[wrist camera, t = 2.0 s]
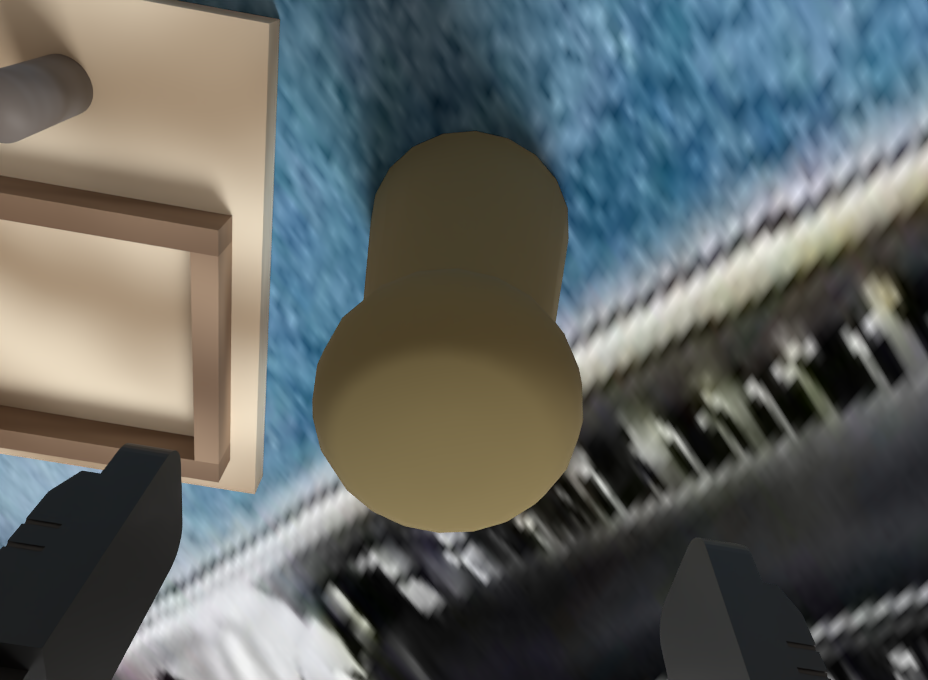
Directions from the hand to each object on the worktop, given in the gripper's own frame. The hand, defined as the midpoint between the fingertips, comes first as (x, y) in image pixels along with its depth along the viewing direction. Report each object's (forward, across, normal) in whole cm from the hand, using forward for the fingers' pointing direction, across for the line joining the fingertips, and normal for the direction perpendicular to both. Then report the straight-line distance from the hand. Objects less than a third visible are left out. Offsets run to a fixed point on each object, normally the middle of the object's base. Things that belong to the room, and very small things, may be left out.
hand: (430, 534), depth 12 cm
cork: (+13, 0, 0) cm, 13 cm away
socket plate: (+13, +12, +3) cm, 17 cm away
